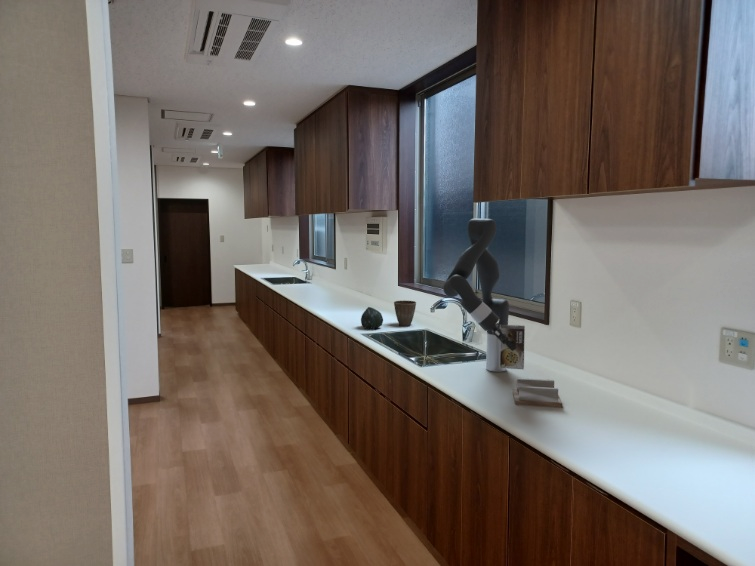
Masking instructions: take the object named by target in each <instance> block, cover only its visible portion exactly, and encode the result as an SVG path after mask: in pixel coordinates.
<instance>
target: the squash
mask: <svg viewBox="0 0 755 566" xmlns="http://www.w3.org/2000/svg"><path fill="white" fill-rule="evenodd" d="M360 317H361V318H360V324H361V327H363V328H364V329H368V330H370V329H371V330H377V329H379V328H380V327H381V326H382V325H383V323H384V318H383V314H382V313H381V312H380V310H377V309H375V308H374V307H370V306H368V307H367V308H366V309H365V311H364V312H362V315H361V316H360Z"/></svg>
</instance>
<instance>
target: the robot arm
mask: <svg viewBox="0 0 755 566" xmlns="http://www.w3.org/2000/svg"><path fill="white" fill-rule="evenodd" d="M497 230H498V229H497V223H496V221H495V220H494V219H491V218H471V219H470V220H469V221H468V222H467V235H468V238H469V242H470V245H471V246H470V247H469V248H467V249H466V250H464V251H463V252H462V253H461V255H460V256H459V258H458V259H457V261H456V263H455V265H454V268H453V269H452V271H451V272H450V274H449V275H448V277H447V278H446V280H445V281H444V283H443V289H442V290H443V293H444V294H445V295H446V297H449V298H455V297H457V296H459V297H460V298H461V302H460V306H461V307H463V309H464V310H465V311H466V312H467V313H468V314H469V316H470V317H471V318H472V319H473V320H474V321H475V322H476V323H477V324H478V325H479V326H480V327H481V329H483V331H484V332H486V352H485V353H486V355H485V356H486V358H485V359H486V360H485V362H486V363H485V367H486V368H485V369H486V371H489V372H495V373H496V372H497V373H499V372H501V373H502V372H505V371H506V370H507V368H500V343H501V342H502V343H503V344H506V345H507V346H508V347H509V348H510V349H511V350H512V351H514V350H515V349H516V346H515V345H514V344H513V343H512V342H511V341H510V339H509V338H508V337H507V336H506V333H505V332H503V333H504V334H503V333H502V332H501V326H502V325H509V314H510V313H509V312H510V304H509V301H508V300H507V299H501V298H493V296H492V292H493V290H494V288H495V287H496V285H497V283H498V281H499V280H500V270H499V265H498V262H497V259H495V257H494V255H492V253H491V252H490V251H489V250H488V249H487V248H488V247H489V246H490V244H491V243H492V241H493V240H494V238H495V236H496V233H497ZM475 266H476V270H477V276H478V280H479V284H480V289H481V298H482V299H481V298H480V297H478V295H477V294H476V293H475V292H474V290H473V288H472V286H471V285H470V283H469V281H468V280H467V279H468V278H469V277H470V276H471V274H472V272H473V271H474V268H475ZM503 338H505V340H503Z"/></svg>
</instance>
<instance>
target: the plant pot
mask: <svg viewBox="0 0 755 566" xmlns="http://www.w3.org/2000/svg"><path fill="white" fill-rule="evenodd" d="M416 305H417V302H416V301H414V300H396V301H394V302H393V306H394V312H395V316H396V319H397V323H398V325H399V327H410V326H411V325H412V322H413V319H414V315H415V312H416Z"/></svg>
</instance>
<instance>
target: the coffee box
mask: <svg viewBox="0 0 755 566" xmlns="http://www.w3.org/2000/svg"><path fill="white" fill-rule="evenodd" d="M525 330H526V329H525V325H518V324H508V325H502V326H501V332H502V333H503V332H505V333H506V336H507V337H508V338H509V339H510V341H511V342H512V343H513V344H514V345H515V346H516V349H515V350H514V351H512V350H511V349H510V348H509V347H508V346H507V345H506V344H503V343H502V342H501V343H500V368H506V369H509V370H510V369H511V370H525V369H524V368H525V340H526V339H525V335H526V332H525ZM503 334H504V333H503ZM503 340H505V338H503Z"/></svg>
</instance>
